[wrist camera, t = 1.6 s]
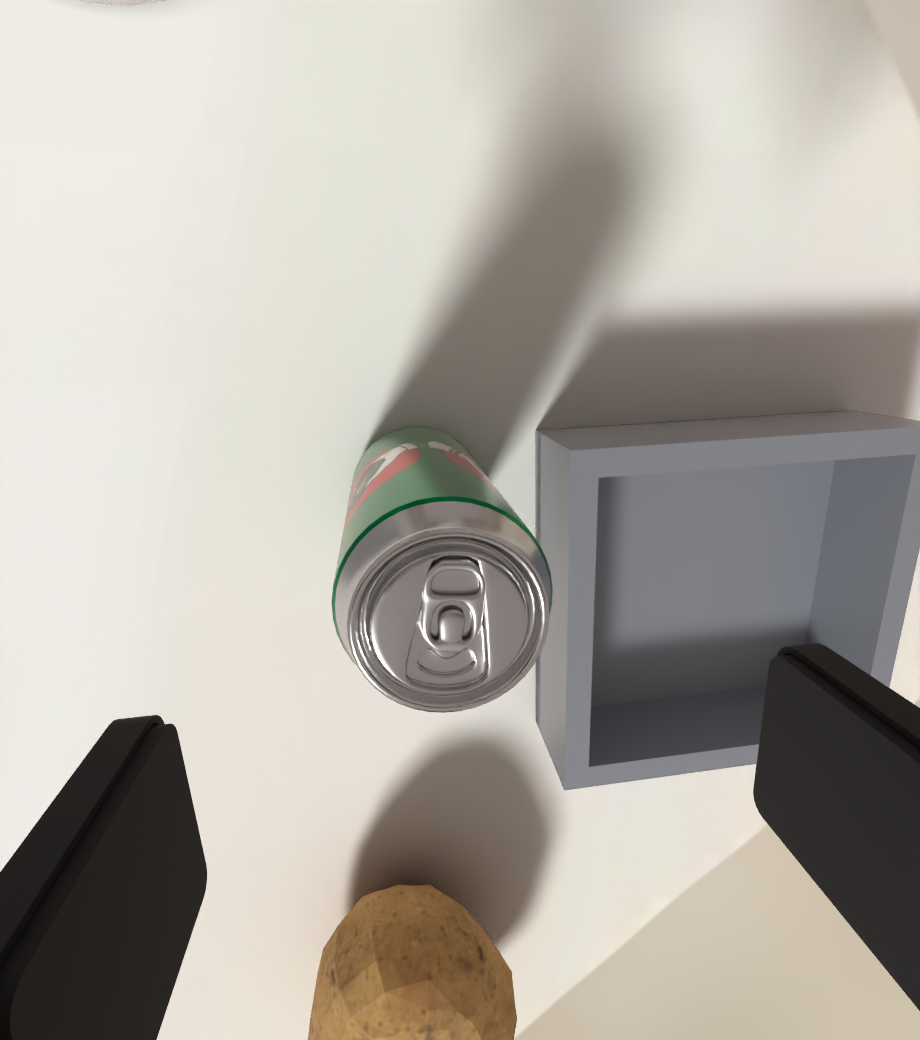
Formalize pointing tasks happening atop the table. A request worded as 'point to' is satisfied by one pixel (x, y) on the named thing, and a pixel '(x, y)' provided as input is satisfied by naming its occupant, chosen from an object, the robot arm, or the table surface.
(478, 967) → the potato
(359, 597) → the soda can
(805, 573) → the bin
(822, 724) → the robot arm
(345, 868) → the table surface
